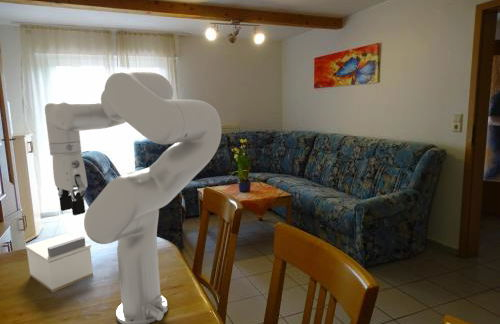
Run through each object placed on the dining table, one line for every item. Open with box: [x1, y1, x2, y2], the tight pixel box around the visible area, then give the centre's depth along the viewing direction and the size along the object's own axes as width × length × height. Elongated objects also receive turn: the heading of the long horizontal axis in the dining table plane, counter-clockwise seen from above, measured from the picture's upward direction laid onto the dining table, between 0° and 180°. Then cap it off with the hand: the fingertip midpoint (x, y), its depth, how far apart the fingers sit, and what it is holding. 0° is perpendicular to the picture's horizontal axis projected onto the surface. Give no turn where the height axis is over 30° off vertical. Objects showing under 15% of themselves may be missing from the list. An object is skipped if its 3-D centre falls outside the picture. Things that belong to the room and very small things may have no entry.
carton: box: [26, 248, 94, 293], centre depth 106 cm, size 16×12×9 cm
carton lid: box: [25, 232, 92, 262], centre depth 105 cm, size 16×12×3 cm
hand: (72, 211), depth 95 cm, fingers open, 6 cm apart
